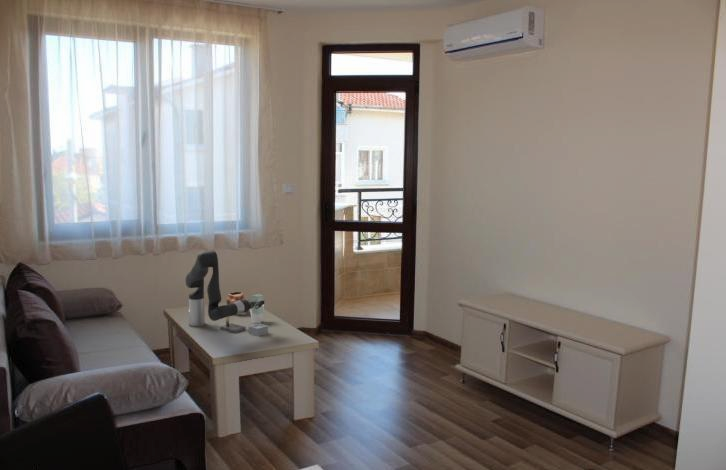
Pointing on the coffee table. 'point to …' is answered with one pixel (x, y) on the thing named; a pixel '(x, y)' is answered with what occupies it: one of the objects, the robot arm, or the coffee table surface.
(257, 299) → the cover
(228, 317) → the brown piece
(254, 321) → the cup
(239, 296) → the decorative planter
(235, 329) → the plate
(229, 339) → the coffee table surface
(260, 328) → the housing
